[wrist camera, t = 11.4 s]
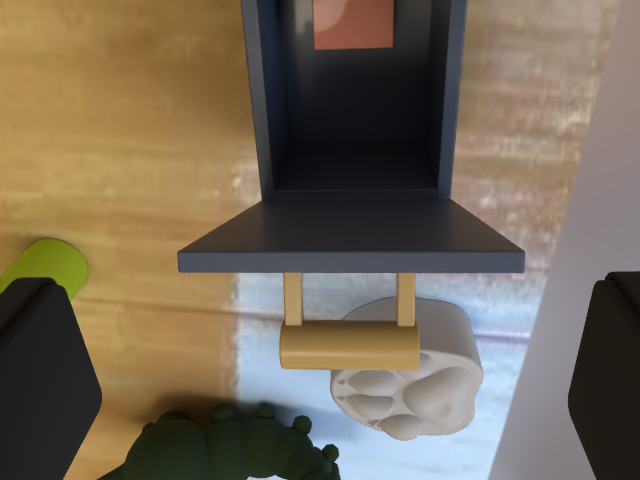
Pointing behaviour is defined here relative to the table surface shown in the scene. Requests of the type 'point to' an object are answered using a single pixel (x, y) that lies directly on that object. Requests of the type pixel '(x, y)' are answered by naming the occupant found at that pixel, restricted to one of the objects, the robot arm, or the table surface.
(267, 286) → the table surface
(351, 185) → the chest
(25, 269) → the soap dispenser
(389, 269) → the lid
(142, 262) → the table surface
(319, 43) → the block
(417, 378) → the lumpy-topped squat cylinder
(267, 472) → the toy figurine
